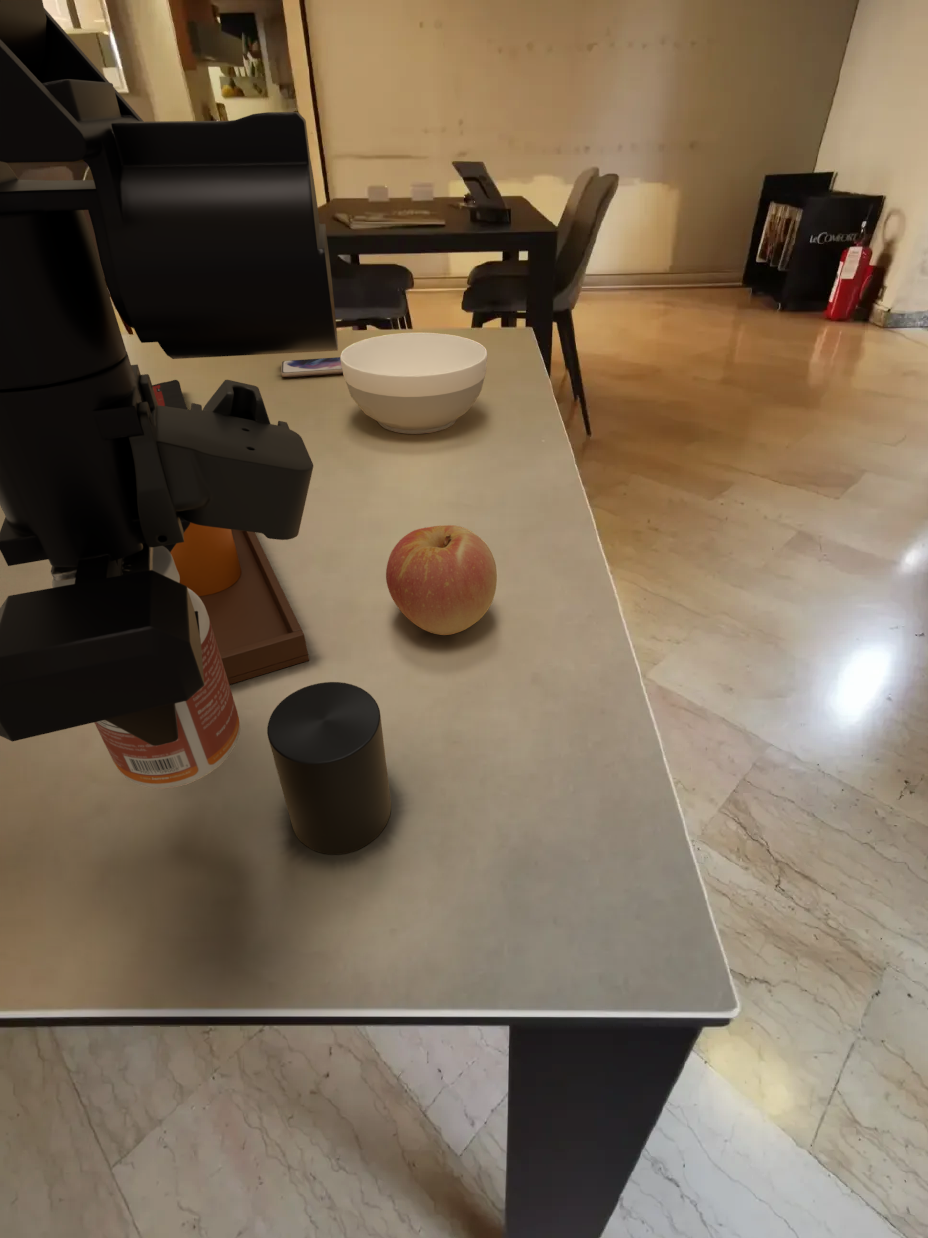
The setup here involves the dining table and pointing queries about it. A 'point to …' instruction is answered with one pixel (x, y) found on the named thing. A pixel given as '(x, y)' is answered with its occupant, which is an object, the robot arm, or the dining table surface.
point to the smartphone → (311, 367)
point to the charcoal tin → (331, 765)
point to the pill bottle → (181, 715)
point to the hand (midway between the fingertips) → (165, 693)
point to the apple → (442, 578)
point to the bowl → (415, 379)
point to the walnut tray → (254, 617)
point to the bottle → (207, 559)
